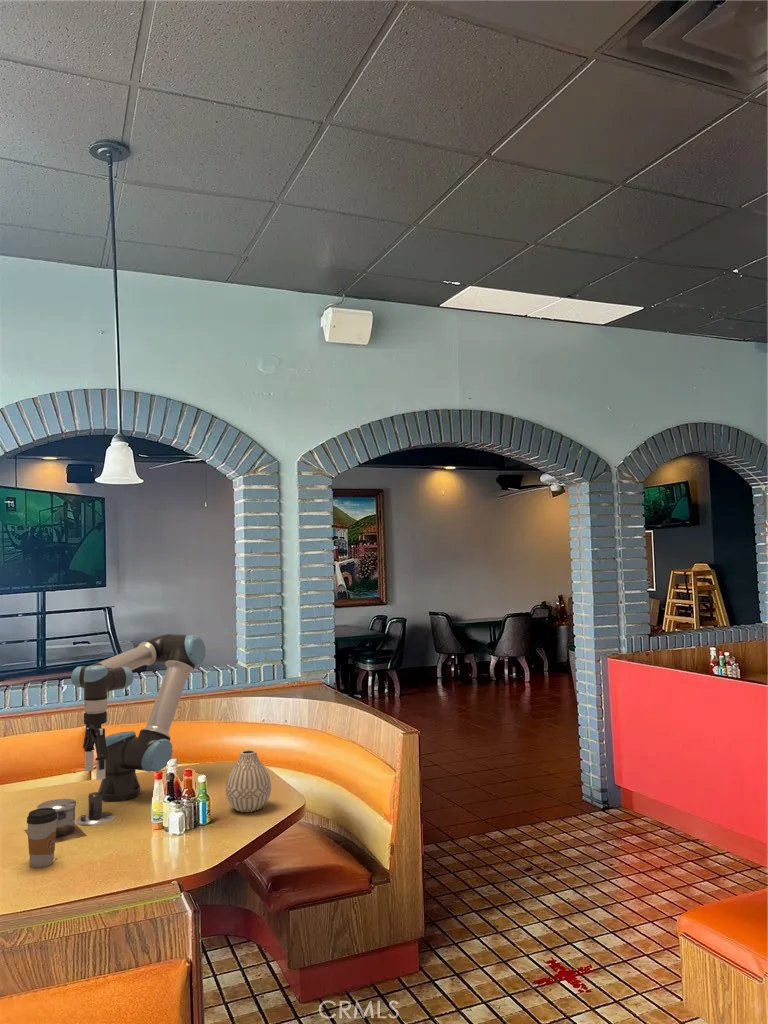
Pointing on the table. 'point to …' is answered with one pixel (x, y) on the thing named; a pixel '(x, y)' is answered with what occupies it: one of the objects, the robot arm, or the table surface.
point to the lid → (95, 812)
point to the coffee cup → (41, 836)
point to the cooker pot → (62, 815)
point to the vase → (248, 783)
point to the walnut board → (75, 834)
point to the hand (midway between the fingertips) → (94, 774)
